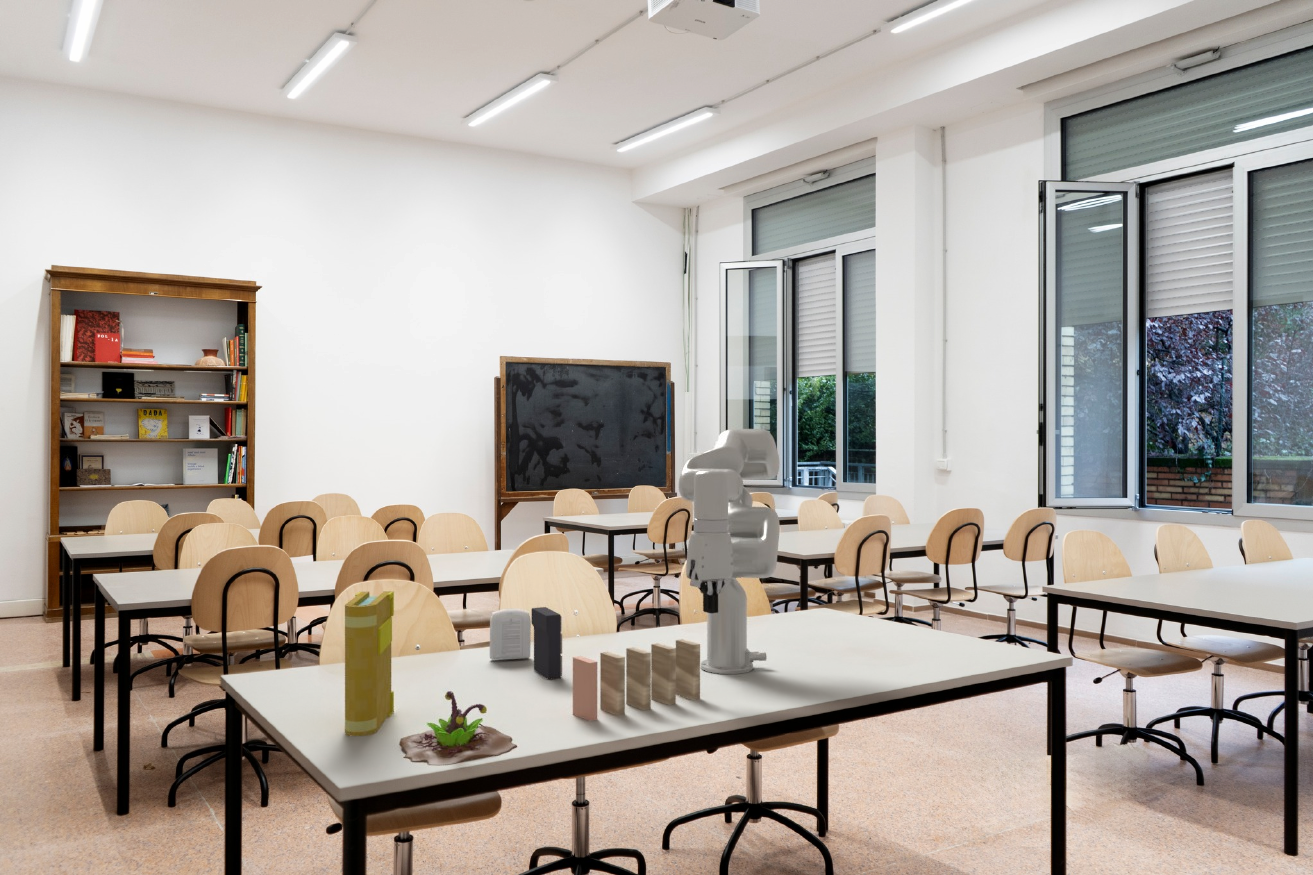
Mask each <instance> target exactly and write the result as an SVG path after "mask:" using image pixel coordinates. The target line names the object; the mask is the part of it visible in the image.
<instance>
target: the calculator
mask: <svg viewBox="0 0 1313 875" xmlns="http://www.w3.org/2000/svg"><path fill="white" fill-rule="evenodd" d="M562 625H563V624H562V616H561V614H560V613H559V612H556V611H554V610H553V609H551V608H549V607H546V606H542V607H541V606H540V607H532V608H531V626H532V627H533V670H534V671H535V672H536V673H538V674H539V675H541V676H542V677H544V678H545V679H547V680H548V681H552V680H560V679H561V678H562V677H563V655H562V654H563V633H562Z"/></svg>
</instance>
